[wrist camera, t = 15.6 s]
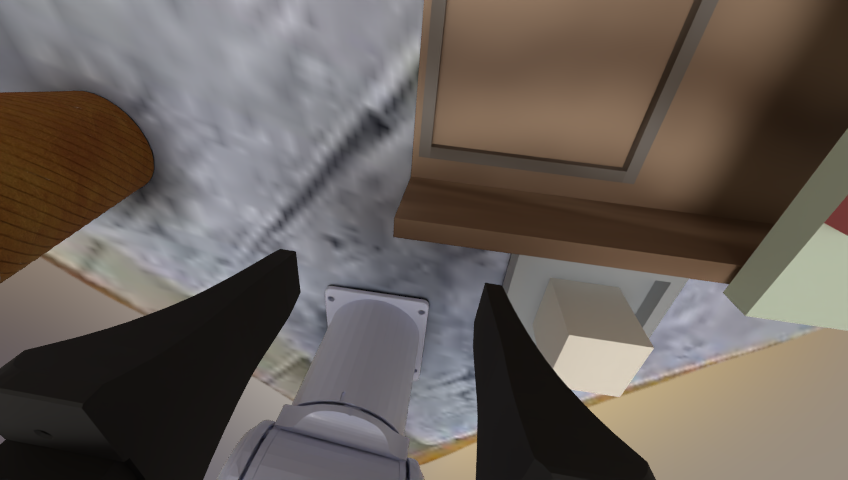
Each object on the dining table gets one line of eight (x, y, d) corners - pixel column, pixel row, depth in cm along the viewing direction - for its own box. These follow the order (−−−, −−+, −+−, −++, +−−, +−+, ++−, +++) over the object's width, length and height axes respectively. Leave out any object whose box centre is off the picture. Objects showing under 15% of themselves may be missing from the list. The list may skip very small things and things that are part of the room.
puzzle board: (808, 252, 20) (928, 331, 15) (411, 199, 21) (392, 254, 16) (1141, -133, 11) (1711, -270, 6) (442, -188, 13) (422, -343, 7)
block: (594, 334, 25) (619, 397, 20) (532, 324, 25) (545, 385, 21) (618, 287, 22) (654, 348, 18) (550, 277, 22) (569, 334, 18)
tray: (613, 359, 27) (622, 379, 25) (487, 339, 27) (488, 358, 25) (676, 256, 21) (692, 273, 20) (517, 234, 22) (520, 250, 20)
